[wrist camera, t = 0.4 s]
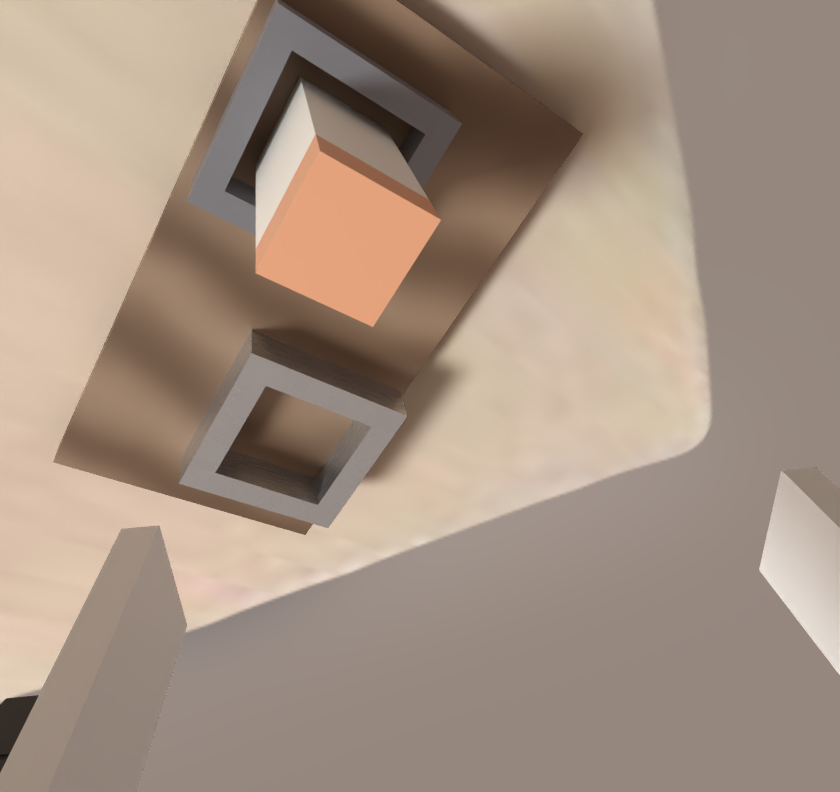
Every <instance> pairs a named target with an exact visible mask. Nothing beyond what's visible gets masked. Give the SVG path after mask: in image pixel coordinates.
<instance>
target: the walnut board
mask: <svg viewBox="0 0 840 792" xmlns="http://www.w3.org/2000/svg"><path fill="white" fill-rule="evenodd" d="M274 1H275V0H257V2H256V4H255V7H254V9H253V11H252V13H251V16H250V18H249V20H248V22H247V25H246V27H245V29H244V31H243V34H242V36H241V38H240V40H239V43H238V45H237V47H236V49H235V52H234V54H233V56H232V58H231V61H230V63H229V65H228V67H227V70H226V72H225V74H224V76H223V79H222V81H221V83H220V85H219V88H218V90H217V92H216V94H215V97H214V99H213V101H212V103H211V106H210V108H209V110H208V112H207V115H206V117H205V119H204V121H203V124H202V126H201V128H200V130H199V133H198V135H197V137H196V139H195V142H194V144H193V146H192V148H191V151H190V153H189V155H188V157H187V160H186V162H185V164H184V166H183V169H182V171H181V173H180V175H179V178H178V180H177V182H176V184H175V187H174V189H173V191H172V193H171V196H170V198H169V200H168V202H167V205H166V207H165V209H164V211H163V214H162V216H161V218H160V220H159V223H158V225H157V227H156V229H155V232H154V234H153V236H152V238H151V241H150V243H149V245H148V247H147V250H146V252H145V254H144V256H143V259H142V261H141V263H140V265H139V268H138V270H137V272H136V274H135V277H134V279H133V281H132V283H131V286H130V288H129V290H128V292H127V295H126V297H125V299H124V301H123V304H122V306H121V308H120V310H119V313H118V315H117V317H116V319H115V322H114V324H113V326H112V328H111V331H110V333H109V335H108V337H107V340H106V342H105V344H104V346H103V349H102V351H101V353H100V355H99V358H98V360H97V362H96V364H95V367H94V369H93V371H92V373H91V376H90V378H89V380H88V382H87V385H86V387H85V389H84V391H83V394H82V396H81V398H80V400H79V403H78V405H77V407H76V409H75V412H74V414H73V416H72V418H71V421H70V423H69V425H68V427H67V430H66V432H65V434H64V436H63V439H62V441H61V443H60V445H59V448H58V451H57V453H56V456H55V459H54V461H53V462H54V463H58V464H61V465H65V466H68V467H72V468H75V469H79V470H82V471H86V472H89V473H93V474H96V475H100V476H103V477H106V478H110V479H113V480H117V481H120V482H124V483H127V484H131V485H134V486H138V487H141V488H145V489H148V490H151V491H155V492H158V493H162V494H165V495H169V496H172V497H176V498H179V499H183V500H186V501H190V502H193V503H197V504H200V505H203V506H207V507H210V508H214V509H217V510H221V511H224V512H228V513H231V514H235V515H238V516H242V517H245V518H249V519H252V520H255V521H259V522H262V523H266V524H269V525H273V526H276V527H280V528H283V529H287V530H290V531H294V532H297V533H300V534H304V535H306V533H307V532H308V530H309V529H310V527H311V526H312V525H313V523H309V522H306V521H302V520H299V519H296V518H292V517H289V516H286V515H282V514H279V513H276V512H272V511H269V510H266V509H262V508H259V507H256V506H252V505H249V504H245V503H242V502H239V501H235V500H232V499H229V498H225V497H222V496H219V495H215V494H212V493H209V492H205V491H202V490H199V489H195V488H192V487H188V486H185V485H182V484H179V478H180V471H181V464H182V456H183V454H184V452H185V450H186V448H187V447H188V445H189V443H190V441H191V439H192V437H193V436H194V434H195V432H196V430H197V428H198V427H199V425H200V423H201V421H202V419H203V417H204V416H205V414H206V412H207V410H208V408H209V406H210V405H211V403H212V401H213V399H214V397H215V396H216V394H217V392H218V390H219V388H220V386H221V385H222V383H223V381H224V379H225V377H226V375H227V374H228V372H229V370H230V368H231V366H232V365H233V363H234V361H235V359H236V357H237V355H238V354H239V352H240V350H241V348H242V346H243V344H244V343H245V341H246V339H247V337H248V335H249V334H250V332H251V330H255V331H257V332H260V333H262V334H264V335H267V336H269V337H271V338H274V339H276V340H279V341H281V342H283V343H286V344H288V345H291V346H293V347H295V348H298V349H300V350H302V351H305V352H307V353H310V354H312V355H314V356H317V357H319V358H322V359H324V360H326V361H329V362H331V363H333V364H336V365H338V366H341V367H343V368H345V369H348V370H350V371H353V372H355V373H357V374H360V375H362V376H364V377H367V378H369V379H372V380H374V381H376V382H379V383H381V384H384V385H386V386H388V387H391V388H393V389H396V390H398V391H400V392H401V396H402V395H403V393H404V392H405V390H406V389H407V387H408V386H409V385H410V383H411V382H412V380H413V379H414V377H415V376H416V374H417V373H418V372H419V370H420V369H421V367H422V366H423V364H424V363H425V361H426V360H427V359H428V357H429V356H430V354H431V353H432V351H433V350H434V348H435V347H436V346H437V344H438V343H439V341H440V340H441V338H442V337H443V335H444V334H445V333H446V331H447V330H448V328H449V327H450V325H451V324H452V322H453V321H454V320H455V318H456V317H457V315H458V314H459V312H460V311H461V309H462V308H463V307H464V305H465V304H466V302H467V301H468V299H469V298H470V297H471V295H472V294H473V292H474V291H475V289H476V288H477V286H478V285H479V284H480V282H481V281H482V279H483V278H484V276H485V275H486V273H487V272H488V271H489V269H490V268H491V266H492V265H493V263H494V262H495V260H496V259H497V258H498V256H499V255H500V253H501V252H502V250H503V249H504V247H505V246H506V245H507V243H508V242H509V240H510V239H511V237H512V236H513V234H514V233H515V232H516V230H517V229H518V227H519V226H520V224H521V223H522V221H523V220H524V219H525V217H526V216H527V214H528V213H529V211H530V210H531V208H532V207H533V206H534V204H535V203H536V201H537V200H538V198H539V197H540V195H541V194H542V193H543V191H544V190H545V188H546V187H547V185H548V184H549V182H550V181H551V180H552V178H553V177H554V175H555V174H556V172H557V171H558V169H559V168H560V167H561V165H562V164H563V162H564V161H565V159H566V158H567V156H568V155H569V154H570V152H571V151H572V149H573V148H574V146H575V145H576V143H577V142H578V141H579V139H580V138H581V136H582V135H583V134H582V133H581V132H580V131H578V130H577V129H575V128H574V127H573V126H571V125H570V124H568V123H567V122H566V121H564V120H563V119H561V118H560V117H559V116H557V115H556V114H555V113H553V112H552V111H550V110H549V109H548V108H546V107H545V106H543V105H542V104H541V103H539V102H538V101H536V100H535V99H534V98H532V97H531V96H529V95H528V94H527V93H525V92H524V91H522V90H521V89H520V88H518V87H517V86H515V85H514V84H513V83H511V82H510V81H508V80H507V79H506V78H504V77H503V76H501V75H500V74H499V73H497V72H496V71H494V70H493V69H492V68H490V67H489V66H488V65H486V64H485V63H483V62H482V61H481V60H479V59H478V58H476V57H475V56H474V55H472V54H471V53H469V52H468V51H467V50H465V49H464V48H462V47H461V46H460V45H458V44H457V43H455V42H454V41H453V40H451V39H450V38H448V37H447V36H446V35H444V34H443V33H441V32H440V31H439V30H437V29H436V28H434V27H433V26H432V25H430V24H429V23H427V22H426V21H425V20H423V19H422V18H421V17H419V16H418V15H416V14H415V13H414V12H412V11H411V10H409V9H408V8H407V7H405V6H404V5H402V4H401V3H400V2H398V1H397V0H282V1H283V2H285V3H286V4H288V5H289V6H291V7H292V8H294V9H295V10H297V11H298V12H300V13H301V14H303V15H305V16H306V17H308V18H309V19H311V20H312V21H314V22H315V23H317V24H318V25H320V26H321V27H323V28H324V29H326V30H327V31H329V32H330V33H332V34H333V35H335V36H336V37H338V38H339V39H341V40H342V41H344V42H346V43H347V44H349V45H350V46H352V47H353V48H355V49H356V50H358V51H359V52H361V53H362V54H364V55H365V56H367V57H368V58H370V59H371V60H373V61H374V62H376V63H377V64H379V65H380V66H382V67H383V68H385V69H387V70H388V71H390V72H391V73H393V74H394V75H396V76H397V77H399V78H400V79H402V80H403V81H405V82H406V83H408V84H409V85H411V86H412V87H414V88H415V89H417V90H418V91H420V92H421V93H423V94H424V95H426V96H428V97H429V98H431V99H432V100H434V101H435V102H437V103H438V104H440V105H441V106H443V107H444V108H446V109H447V110H449V111H450V112H451V113H452V114H453V115H454V116H455V117H456V118H457V119H458V120H459V121H460V122H461V123H462V125H461V127H460V128H459V130H458V131H457V133H456V135H455V136H454V138H453V140H452V141H451V143H450V145H449V146H448V148H447V149H446V151H445V153H444V154H443V156H442V158H441V159H440V161H439V163H438V164H437V166H436V167H435V169H434V171H433V172H432V174H431V176H430V177H429V179H428V181H427V182H426V184H425V185H424V187H423V191H424V192H425V194H426V196H427V197H428V199H429V201H430V202H431V204H432V205H433V207H434V209H435V210H436V212H437V214H438V215H439V217H440V219H441V221H440V223H439V224H438V226H437V227H436V229H435V230H434V232H433V234H432V235H431V237H430V238H429V240H428V241H427V243H426V245H425V246H424V248H423V249H422V251H421V252H420V254H419V256H418V257H417V259H416V260H415V262H414V263H413V265H412V267H411V268H410V270H409V271H408V273H407V274H406V276H405V278H404V279H403V281H402V282H401V284H400V285H399V287H398V289H397V290H396V292H395V293H394V295H393V296H392V298H391V300H390V301H389V303H388V304H387V306H386V307H385V309H384V311H383V312H382V314H381V315H380V317H379V318H378V320H377V322H376V323H375V325H374V326H373V327H372V326H370V325H367V324H365V323H363V322H361V321H359V320H356V319H354V318H352V317H350V316H348V315H346V314H343V313H341V312H339V311H337V310H335V309H332V308H330V307H328V306H326V305H324V304H322V303H319V302H317V301H315V300H313V299H311V298H309V297H306V296H304V295H302V294H300V293H298V292H295V291H293V290H291V289H289V288H287V287H285V286H282V285H280V284H278V283H276V282H274V281H271V280H269V279H267V278H265V277H263V276H261V275H258V274H256V235H255V234H253V233H251V232H248V231H246V230H244V229H242V228H240V227H238V226H236V225H234V224H232V223H230V222H228V221H226V220H224V219H222V218H220V217H218V216H215V215H213V214H211V213H209V212H207V211H205V210H203V209H201V208H199V207H197V206H195V205H193V204H191V203H189V202H187V200H188V196H189V192H190V188H191V184H192V181H193V179H194V177H195V175H196V173H197V170H198V168H199V166H200V164H201V162H202V159H203V157H204V155H205V153H206V151H207V148H208V146H209V144H210V142H211V140H212V137H213V135H214V133H215V131H216V129H217V126H218V124H219V122H220V120H221V118H222V115H223V113H224V111H225V109H226V107H227V104H228V102H229V100H230V98H231V96H232V93H233V91H234V89H235V87H236V85H237V82H238V80H239V78H240V76H241V74H242V71H243V69H244V67H245V65H246V63H247V60H248V58H249V56H250V54H251V52H252V49H253V47H254V45H255V43H256V41H257V38H258V36H259V34H260V32H261V30H262V27H263V25H264V23H265V21H266V19H267V16H268V14H269V12H270V10H271V8H272V5H273V3H274ZM300 76H301V77H303V78H304V79H306V80H308V81H309V82H311V83H312V84H314V85H316V86H317V87H319V88H321V89H322V90H324V91H325V92H327V93H329V94H330V95H332V96H334V97H335V98H337V99H339V100H340V101H342V102H343V103H345V104H347V105H348V106H350V107H352V108H353V109H355V110H356V111H358V112H360V113H361V114H363V115H365V116H366V117H368V118H369V119H371V120H373V121H374V122H376V123H378V124H379V125H381V126H383V127H384V128H386V129H387V131H388V133H389V134H390V136H391V138H392V139H393V141H394V143H395V144H396V146H397V147H398V149H399V147H400V146H401V144H402V142H403V140H404V139H405V137H406V135H407V133H408V132H409V130H410V128H411V127H412V126H411V125H410V124H408V123H407V122H405V121H403V120H402V119H400V118H399V117H397V116H396V115H394V114H392V113H391V112H389V111H388V110H386V109H384V108H383V107H381V106H380V105H378V104H376V103H375V102H373V101H372V100H370V99H368V98H367V97H365V96H364V95H362V94H360V93H359V92H357V91H356V90H354V89H353V88H351V87H349V86H348V85H346V84H345V83H343V82H341V81H340V80H338V79H337V78H335V77H333V76H332V75H330V74H329V73H327V72H325V71H324V70H322V69H321V68H319V67H317V66H316V65H314V64H313V63H311V62H310V61H308V60H306V59H305V58H303V57H302V56H300V55H298V54H297V53H295V52H294V51H292V52H291V54H290V56H289V58H288V60H287V62H286V64H285V66H284V68H283V70H282V72H281V74H280V77H279V79H278V81H277V83H276V85H275V87H274V89H273V91H272V93H271V95H270V97H269V100H268V102H267V104H266V106H265V108H264V110H263V112H262V114H261V116H260V118H259V120H258V122H257V125H256V127H255V129H254V131H253V133H252V135H251V137H250V139H249V141H248V143H247V145H246V147H245V150H244V152H243V154H242V156H241V158H240V160H239V162H238V164H237V166H236V168H235V170H234V173H233V175H232V177H234V178H236V179H238V180H240V181H241V182H243V183H245V184H247V185H249V186H251V187H253V188H255V189H256V164H257V162H258V160H259V158H260V156H261V154H262V152H263V150H264V148H265V146H266V144H267V142H268V140H269V138H270V136H271V134H272V131H273V129H274V127H275V125H276V123H277V121H278V119H279V117H280V115H281V113H282V111H283V109H284V107H285V105H286V103H287V101H288V99H289V97H290V95H291V93H292V91H293V89H294V87H295V85H296V83H297V81H298V79H299V77H300ZM352 422H353V419H351V418H348V417H346V416H343V415H340V414H338V413H335V412H333V411H330V410H327V409H325V408H322V407H319V406H317V405H314V404H312V403H309V402H306V401H304V400H301V399H299V398H296V397H293V396H291V395H288V394H286V393H283V392H280V391H278V390H275V389H273V388H270V387H267V386H266V387H265V388H264V390H263V392H262V394H261V395H260V397H259V399H258V400H257V402H256V404H255V406H254V407H253V409H252V411H251V412H250V414H249V416H248V418H247V419H246V421H245V423H244V424H243V426H242V428H241V430H240V431H239V433H238V435H237V436H236V438H235V440H234V442H233V443H232V445H231V447H230V448H229V449H230V450H233V451H236V452H239V453H242V454H245V455H248V456H251V457H254V458H257V459H260V460H263V461H266V462H269V463H272V464H275V465H278V466H281V467H284V468H287V469H290V470H293V471H296V472H299V473H302V474H305V475H308V476H311V477H314V478H315V477H316V476H317V474H318V473H319V471H320V470H321V468H322V467H323V465H324V464H325V462H326V461H327V459H328V458H329V456H330V455H331V453H332V452H333V450H334V449H335V447H336V446H337V444H338V443H339V441H340V440H341V438H342V437H343V435H344V434H345V432H346V431H347V429H348V428H349V426H350V425H351V423H352Z"/></svg>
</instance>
